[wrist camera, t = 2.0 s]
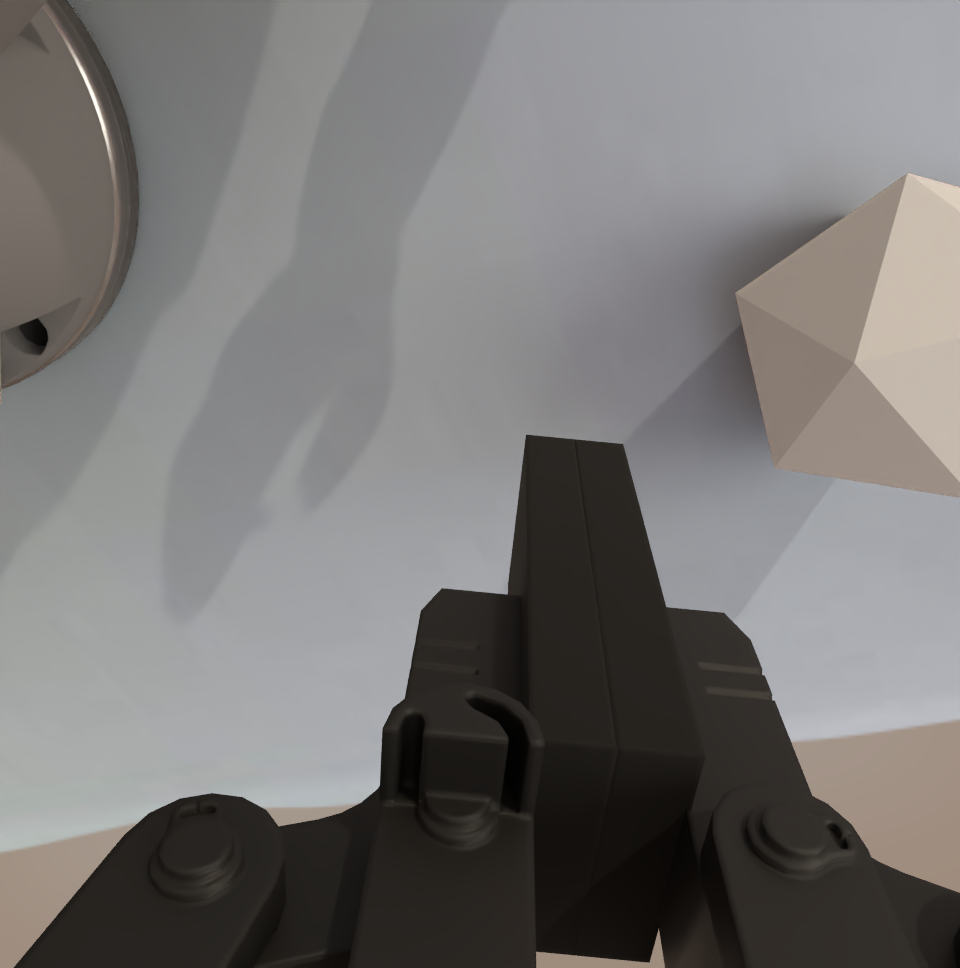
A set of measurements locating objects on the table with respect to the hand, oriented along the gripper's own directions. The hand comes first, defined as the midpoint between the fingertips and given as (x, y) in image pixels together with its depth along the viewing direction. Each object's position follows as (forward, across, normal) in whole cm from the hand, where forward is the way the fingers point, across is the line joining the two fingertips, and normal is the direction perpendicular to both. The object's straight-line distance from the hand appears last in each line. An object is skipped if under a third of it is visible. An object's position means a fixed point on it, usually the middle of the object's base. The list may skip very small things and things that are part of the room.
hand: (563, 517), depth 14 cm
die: (+16, +10, 0) cm, 19 cm away
